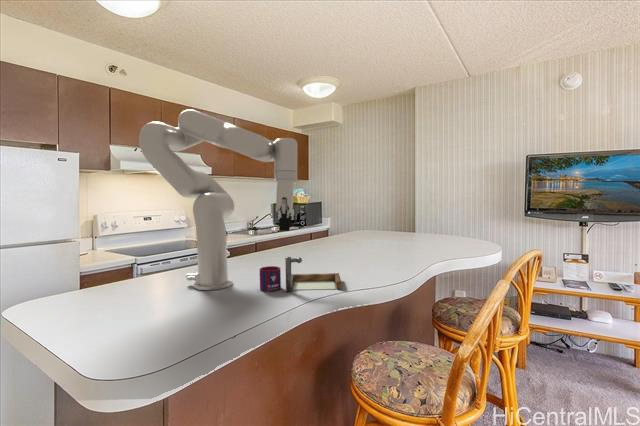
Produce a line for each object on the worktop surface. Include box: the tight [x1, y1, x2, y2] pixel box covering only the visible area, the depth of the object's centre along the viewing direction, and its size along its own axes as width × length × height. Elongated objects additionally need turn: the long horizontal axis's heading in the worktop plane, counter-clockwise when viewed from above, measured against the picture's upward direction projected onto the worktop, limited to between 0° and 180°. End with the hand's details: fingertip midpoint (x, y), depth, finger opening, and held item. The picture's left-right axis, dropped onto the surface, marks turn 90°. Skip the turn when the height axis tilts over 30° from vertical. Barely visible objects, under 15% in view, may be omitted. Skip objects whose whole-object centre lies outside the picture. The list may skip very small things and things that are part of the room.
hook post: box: [284, 256, 303, 294], centre depth 102 cm, size 5×2×11 cm, turn 91°
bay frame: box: [291, 272, 342, 291], centre depth 109 cm, size 18×11×2 cm, turn 91°
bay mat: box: [292, 281, 337, 291], centre depth 108 cm, size 14×9×1 cm, turn 91°
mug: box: [259, 265, 282, 293], centre depth 106 cm, size 7×10×7 cm
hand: (285, 229), depth 107 cm, fingers open, 9 cm apart
